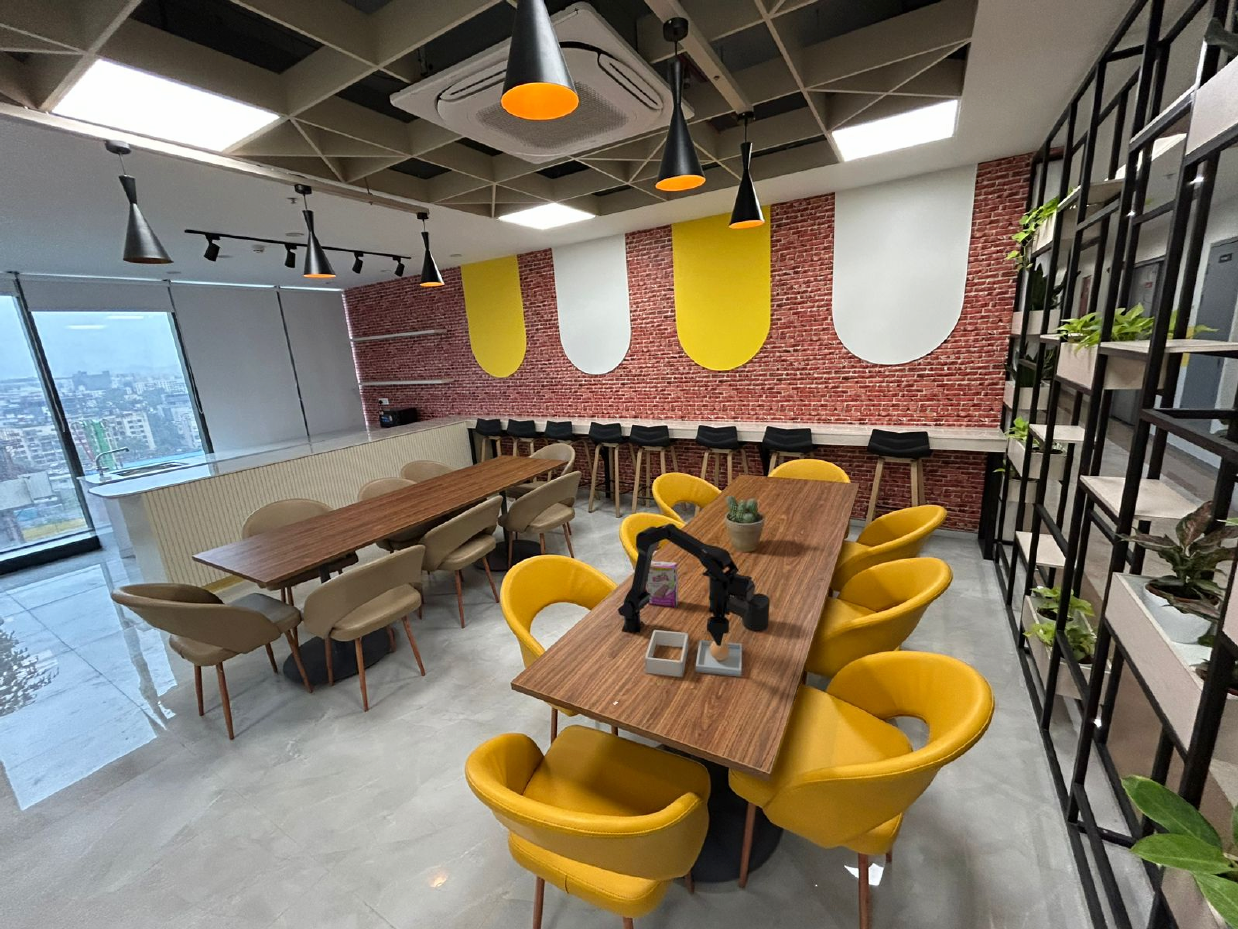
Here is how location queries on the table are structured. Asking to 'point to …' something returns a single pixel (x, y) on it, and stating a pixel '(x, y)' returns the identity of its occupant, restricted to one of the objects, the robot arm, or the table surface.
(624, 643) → the table surface
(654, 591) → the candy bar box
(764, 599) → the pen holder
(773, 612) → the table surface
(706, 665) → the tray
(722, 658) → the ball
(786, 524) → the table surface
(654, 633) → the grey rectangular frame
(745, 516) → the potted plant
